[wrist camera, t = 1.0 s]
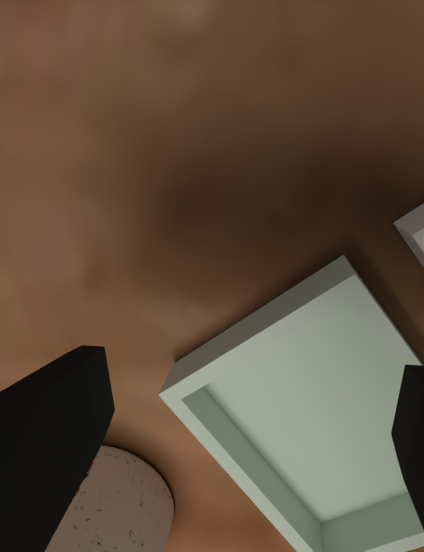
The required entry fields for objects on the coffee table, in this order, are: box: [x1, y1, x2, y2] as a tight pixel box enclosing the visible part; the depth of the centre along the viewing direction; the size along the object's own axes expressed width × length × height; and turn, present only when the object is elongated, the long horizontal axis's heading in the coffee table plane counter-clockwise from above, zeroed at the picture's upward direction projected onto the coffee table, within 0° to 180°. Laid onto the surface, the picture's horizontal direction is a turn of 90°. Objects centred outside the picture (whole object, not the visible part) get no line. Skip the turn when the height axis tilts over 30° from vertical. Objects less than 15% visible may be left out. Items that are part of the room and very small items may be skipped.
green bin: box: [158, 255, 424, 552], centre depth 18 cm, size 14×11×3 cm
